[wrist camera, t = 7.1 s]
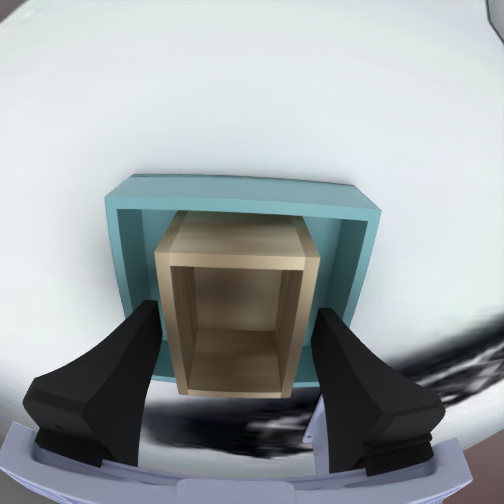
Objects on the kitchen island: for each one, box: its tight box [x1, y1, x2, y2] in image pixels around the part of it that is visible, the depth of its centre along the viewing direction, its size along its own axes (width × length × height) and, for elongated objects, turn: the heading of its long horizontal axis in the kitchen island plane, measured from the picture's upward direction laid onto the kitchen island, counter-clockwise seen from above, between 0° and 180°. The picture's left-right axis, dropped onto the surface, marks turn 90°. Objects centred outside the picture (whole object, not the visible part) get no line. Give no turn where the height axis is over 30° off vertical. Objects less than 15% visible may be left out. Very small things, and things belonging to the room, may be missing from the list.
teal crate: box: [104, 174, 381, 387], centre depth 15 cm, size 11×11×4 cm
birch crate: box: [154, 210, 320, 398], centre depth 14 cm, size 6×8×5 cm
